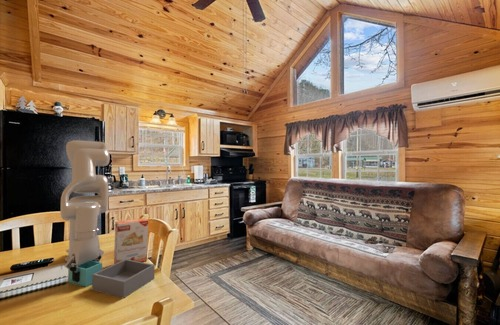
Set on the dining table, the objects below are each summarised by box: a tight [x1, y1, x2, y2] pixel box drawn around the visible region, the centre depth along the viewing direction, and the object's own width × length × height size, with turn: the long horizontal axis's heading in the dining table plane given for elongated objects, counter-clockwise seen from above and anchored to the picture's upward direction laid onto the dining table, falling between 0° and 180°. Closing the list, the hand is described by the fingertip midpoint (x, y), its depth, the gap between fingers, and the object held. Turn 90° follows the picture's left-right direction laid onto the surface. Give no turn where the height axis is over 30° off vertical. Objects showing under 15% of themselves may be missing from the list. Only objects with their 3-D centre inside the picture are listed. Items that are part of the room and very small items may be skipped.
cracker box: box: [113, 218, 149, 265], centre depth 119 cm, size 14×6×21 cm, turn 129°
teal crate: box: [67, 261, 103, 288], centre depth 101 cm, size 10×7×7 cm
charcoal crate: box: [91, 259, 156, 299], centre depth 99 cm, size 16×16×6 cm
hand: (85, 276), depth 101 cm, fingers closed on teal crate, 7 cm apart
